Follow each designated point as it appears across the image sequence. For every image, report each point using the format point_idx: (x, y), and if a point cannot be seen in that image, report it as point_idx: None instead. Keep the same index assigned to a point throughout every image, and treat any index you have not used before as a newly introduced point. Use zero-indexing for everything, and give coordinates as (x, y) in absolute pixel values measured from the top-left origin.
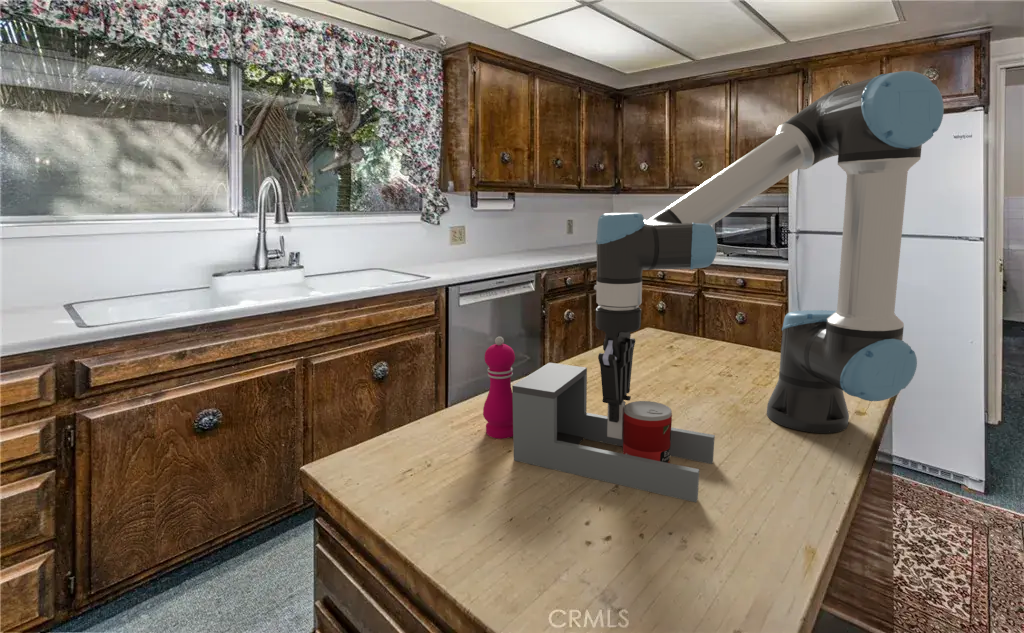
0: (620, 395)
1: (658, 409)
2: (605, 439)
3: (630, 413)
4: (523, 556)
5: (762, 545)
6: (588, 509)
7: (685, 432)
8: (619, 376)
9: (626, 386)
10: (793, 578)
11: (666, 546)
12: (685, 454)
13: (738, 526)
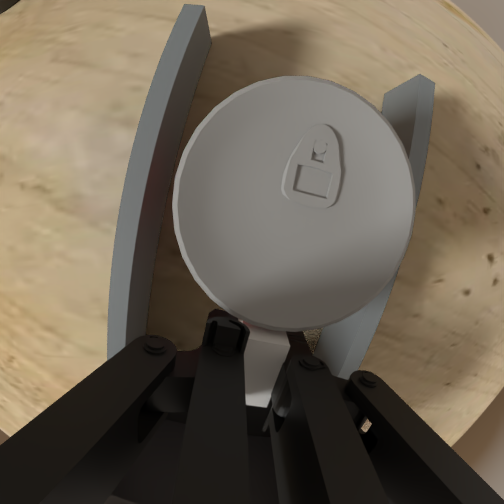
0: (330, 390)
1: (271, 143)
2: (145, 310)
3: (378, 293)
4: (500, 342)
5: (463, 50)
6: (440, 298)
7: (176, 73)
8: (380, 494)
9: (203, 386)
10: (494, 51)
11: (497, 177)
12: (191, 93)
13: (438, 58)
